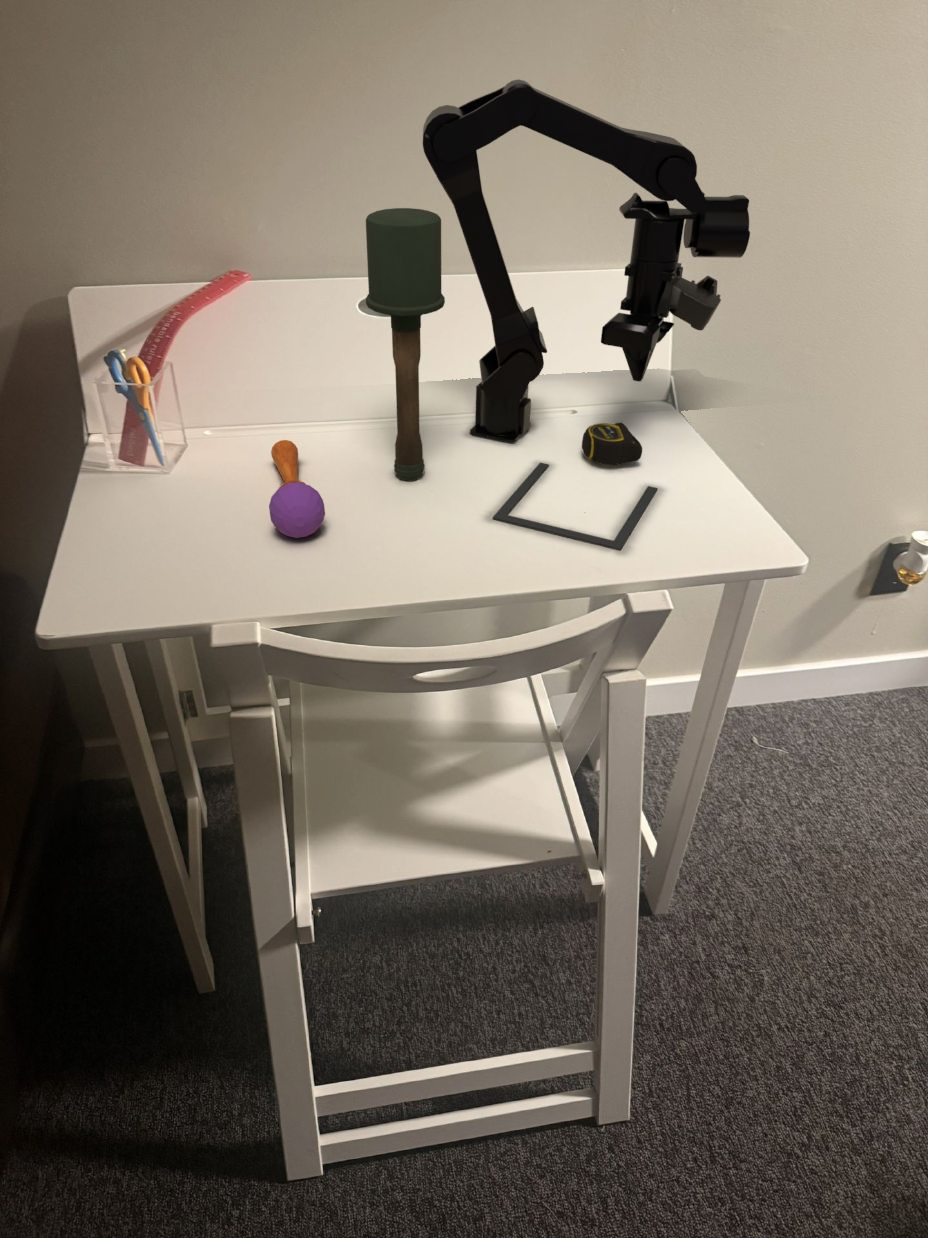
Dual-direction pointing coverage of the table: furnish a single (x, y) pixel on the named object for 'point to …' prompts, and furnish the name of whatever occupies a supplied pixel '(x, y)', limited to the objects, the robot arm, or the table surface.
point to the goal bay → (616, 544)
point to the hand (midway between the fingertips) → (637, 380)
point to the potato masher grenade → (405, 309)
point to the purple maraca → (294, 496)
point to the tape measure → (610, 444)
